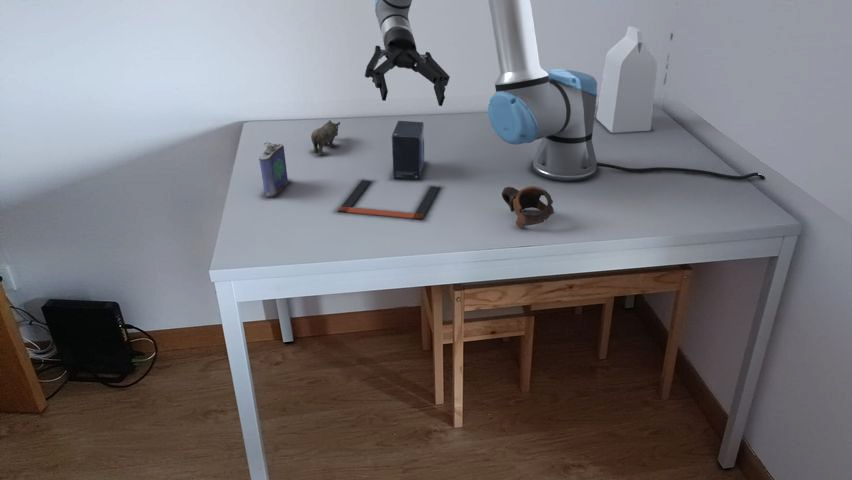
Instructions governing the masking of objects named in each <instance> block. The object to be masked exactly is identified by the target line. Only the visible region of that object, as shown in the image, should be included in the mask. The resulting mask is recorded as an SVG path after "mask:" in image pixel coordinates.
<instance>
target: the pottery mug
mask: <svg viewBox="0 0 852 480" xmlns="http://www.w3.org/2000/svg"><path fill="white" fill-rule="evenodd" d="M542 196H544V198H545V199H546V201H547V204H546V203H544V202H543V201H542V200H540V199H541V197H542ZM501 197H502V200H503V201H504V202H505V203H506V205H507V206H508V207H509V209H510V212H511V213H513V212H515V214H516V216H517V218H516V221H515V225H516V226H517V227H519V228H520V229H523V228H524V227H525V226H526V227H528V226H533V225H534V226H535V225H539V224H542V223H544V222H545V221H547V220H548V219H549V218H550V217H551V216H552V215H553V214H555V211H554V207H553V206H552V205H553V203H554V201H553V199H552V196H551V194H550V193H549V192H548V191H547V190H545V189H544V188H542V187H540V186H536V185H535V186H533V185H530V186H525V187H523V188H521V189H517V188H515V187H512V186H506V187H504V188H503V190H502V191H501ZM526 209H537V210H539V211H536V212H532V211H528V210H526ZM524 210H525V213H523V212H522V211H524Z"/></svg>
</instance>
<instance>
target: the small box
mask: <svg viewBox="0 0 852 480" xmlns="http://www.w3.org/2000/svg"><path fill="white" fill-rule="evenodd" d="M424 127H425V125H424V121H409V120H398V121H397V122H396V125H395V127H394V128H393V129H394V130H393V131H392V134H391V151H392V153H391V154H392V178H393V179H400V180H420V179H421V175H422V172H423V168H424V165H425V128H424Z"/></svg>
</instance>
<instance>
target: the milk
mask: <svg viewBox="0 0 852 480" xmlns="http://www.w3.org/2000/svg"><path fill="white" fill-rule="evenodd" d="M649 49H650V47H649V46H648V44H647V43H646V42H645V41H644V40H643V31H642V30H641V29H639V28H637V27H635V26H633V25H630V26H628V27H627V30H626V33H625V35H624V37H623V38H622V39H620V40H619V41H618V42H617V43H616V44H614V45H613V46H612V47H611V48H610V49H609V50H608V51H607V53H606V55H605V61H604V68H603V72H602V80H601V87H600V93H599V97H598V98H599V99H598V105H597V112H596V120H597V121H598V122H600V123H601V124H602V126H603V127H604V128H606V129H607V130H608V131H609V132H610V133H612V134H614V133H615V134H616V133H634V132H648V131H651V130H652V120H653V110H654V101H655V91H656V82H657V81H656V80H657V70H658V62H657V59H656V57H655V56H654V55H653V54H652V53H651V51H650V50H649Z"/></svg>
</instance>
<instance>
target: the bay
mask: <svg viewBox="0 0 852 480" xmlns="http://www.w3.org/2000/svg"><path fill="white" fill-rule="evenodd" d="M371 182H372V181H371V180H367V179H366V180H365V179H362V180H361V181H360V182H359V184H358V185H357V186H356V187H355V188H354V189H353V190H352V192H351V193H350V195H349V196H348V198H346V200H345V201H344V202H343V204H342V205H341V206H340V207H339V209H338V210H337V212H338V213H345V214H347V213H348V214H355V215H356V214H358V215H359V214H360V215H368V216H379V217H389V218H399V219H409V220H420V221H423V219H424V218H425V215H426V213H427V212H428V210H429V208H430V207H431V205H432V203H433V201H434V199H435V197H436V196H437V194H438V192H439V190H440V186H434V185H432V186H431V185H430V187H429V189H428V190H427V192H426V193H425V196H424V197H423V198H422V201H421V203H420V204H419V206H418V208H417V210H416V211H415V213H414V212H402V211H393V210H382V209H372V208H370V209H369V208H363V207H361V208H360V207H353V206H354V204H355V203H356V202H357V200H359V198H360V197H361V195H363V193H364V191H366V189H367V188H368V187H369V185H370V183H371Z"/></svg>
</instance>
